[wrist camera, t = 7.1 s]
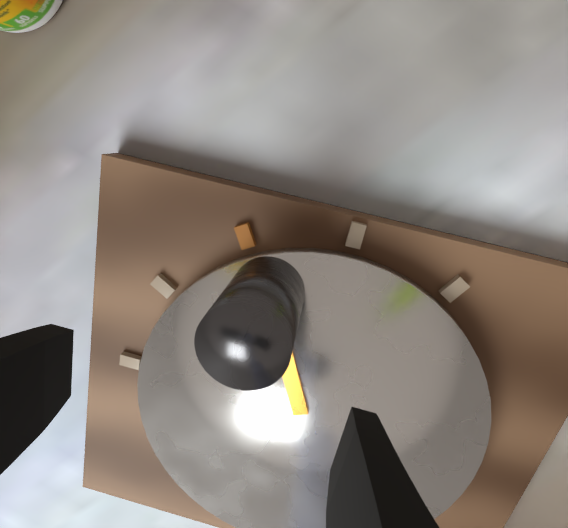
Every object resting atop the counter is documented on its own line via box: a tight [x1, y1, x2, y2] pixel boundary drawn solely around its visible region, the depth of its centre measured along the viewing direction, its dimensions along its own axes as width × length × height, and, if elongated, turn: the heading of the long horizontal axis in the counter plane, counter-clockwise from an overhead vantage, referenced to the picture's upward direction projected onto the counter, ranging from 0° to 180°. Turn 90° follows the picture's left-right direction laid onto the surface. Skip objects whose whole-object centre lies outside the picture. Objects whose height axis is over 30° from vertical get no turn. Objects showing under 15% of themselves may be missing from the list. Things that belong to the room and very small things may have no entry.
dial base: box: [83, 153, 568, 528], centre depth 19 cm, size 19×22×2 cm
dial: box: [137, 248, 491, 528], centre depth 16 cm, size 16×16×5 cm
